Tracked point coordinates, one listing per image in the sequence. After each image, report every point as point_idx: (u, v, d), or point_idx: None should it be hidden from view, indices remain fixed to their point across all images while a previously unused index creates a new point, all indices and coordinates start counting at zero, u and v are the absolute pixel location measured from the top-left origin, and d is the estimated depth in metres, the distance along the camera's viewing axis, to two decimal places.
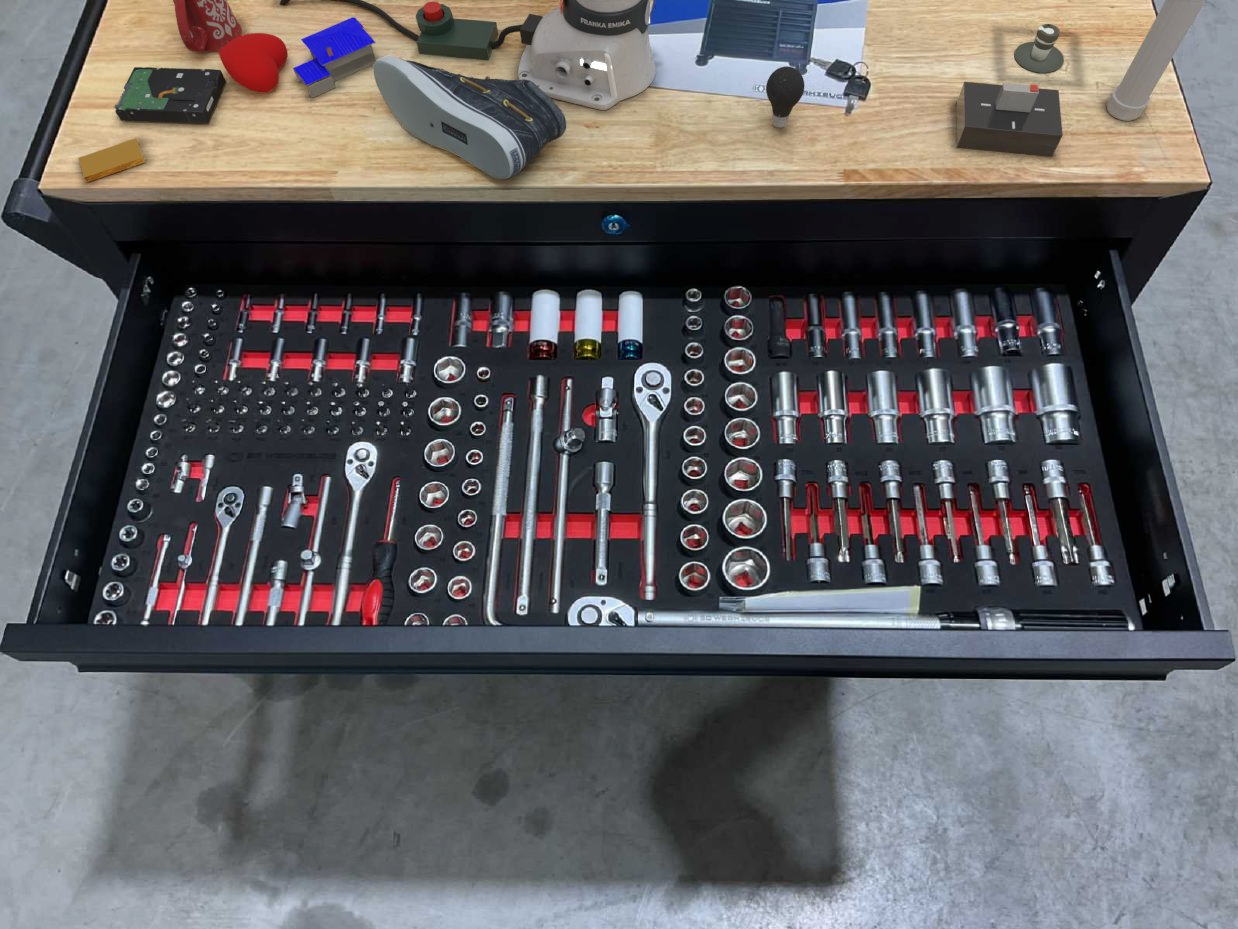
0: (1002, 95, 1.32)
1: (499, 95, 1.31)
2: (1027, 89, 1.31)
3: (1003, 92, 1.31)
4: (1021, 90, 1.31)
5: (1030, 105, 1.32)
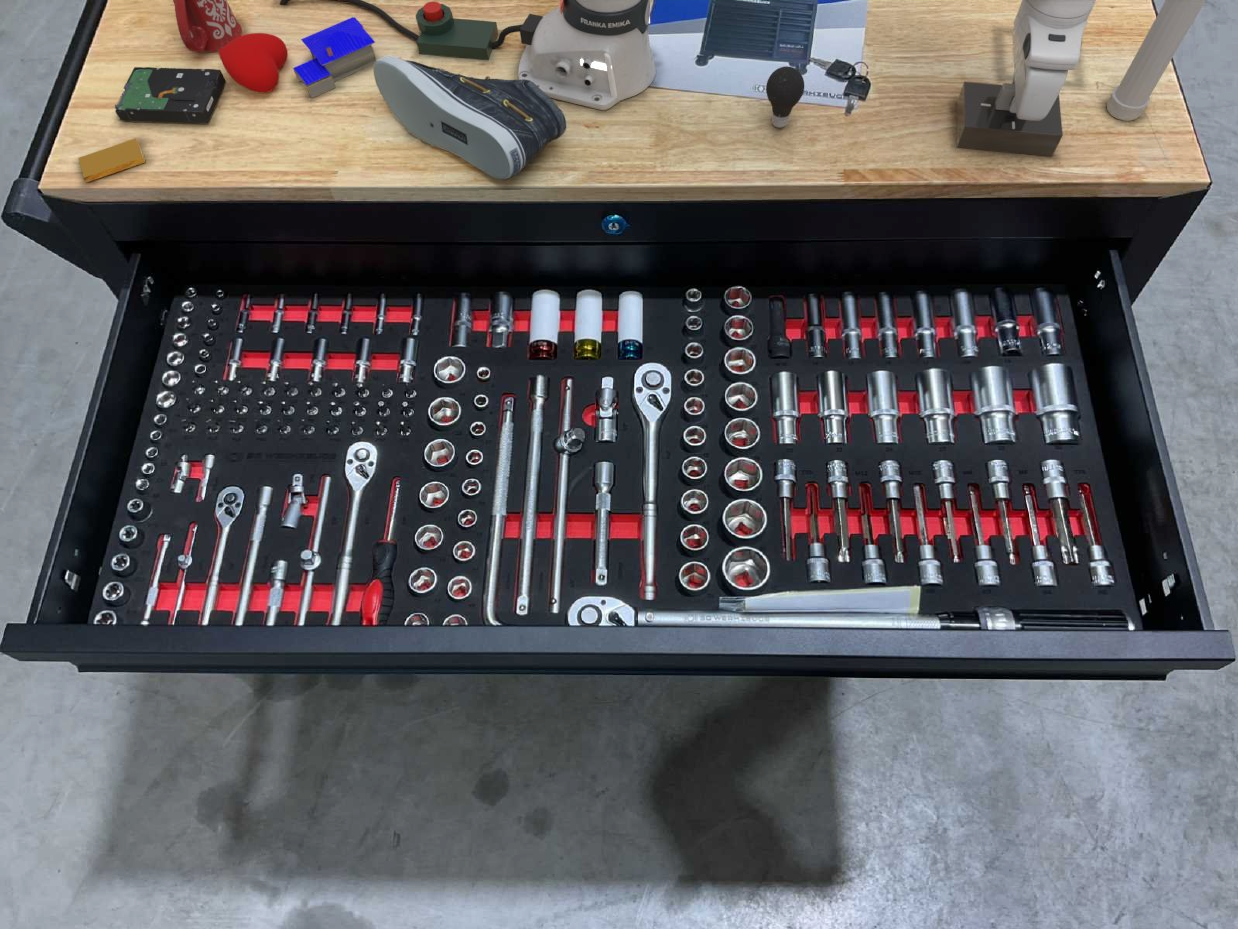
0: (1002, 95, 1.32)
1: (499, 95, 1.31)
2: None
3: (1003, 92, 1.31)
4: None
5: None
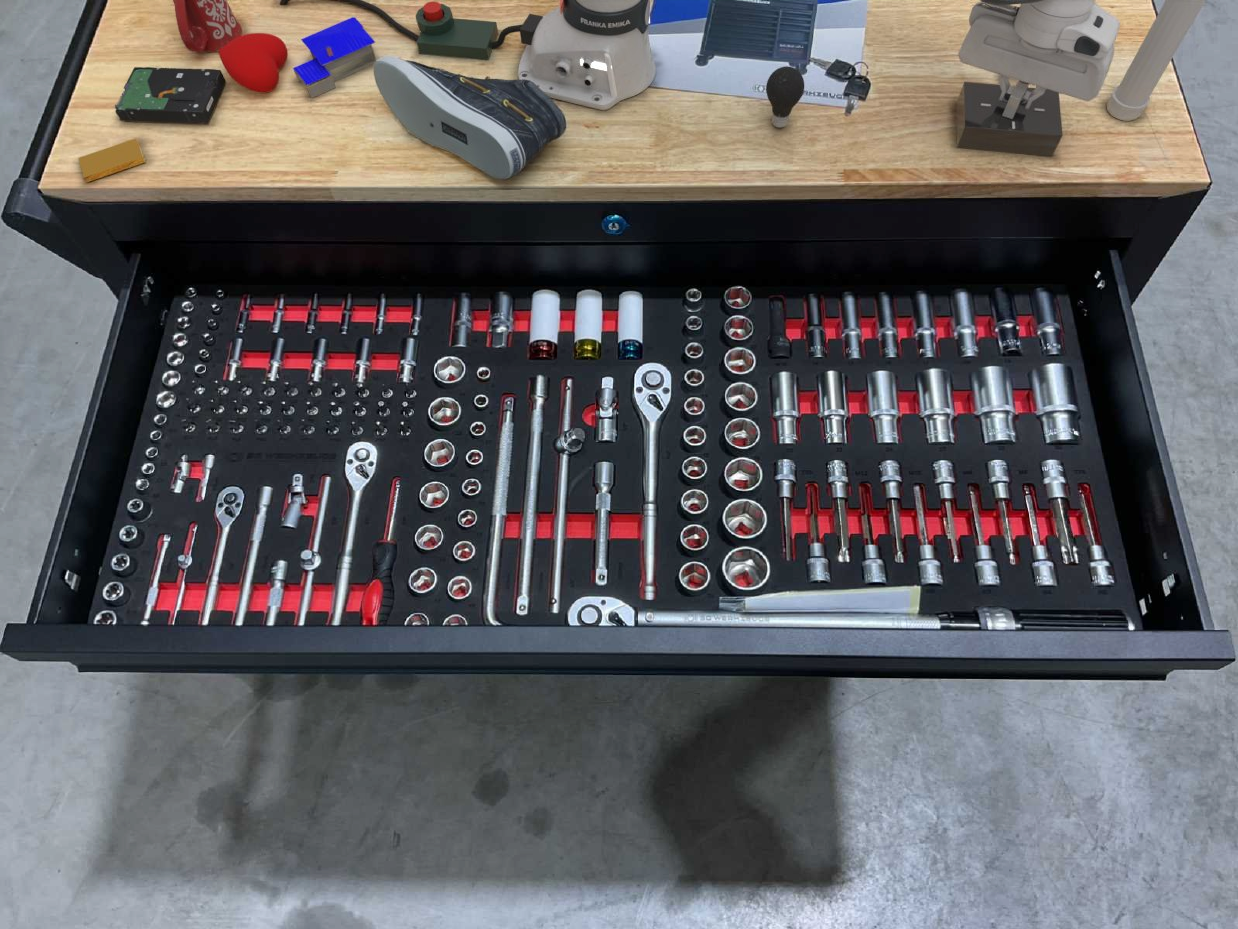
0: (1018, 104, 1.31)
1: (499, 95, 1.31)
2: (1024, 84, 1.31)
3: (1020, 101, 1.30)
4: (1024, 88, 1.31)
5: None
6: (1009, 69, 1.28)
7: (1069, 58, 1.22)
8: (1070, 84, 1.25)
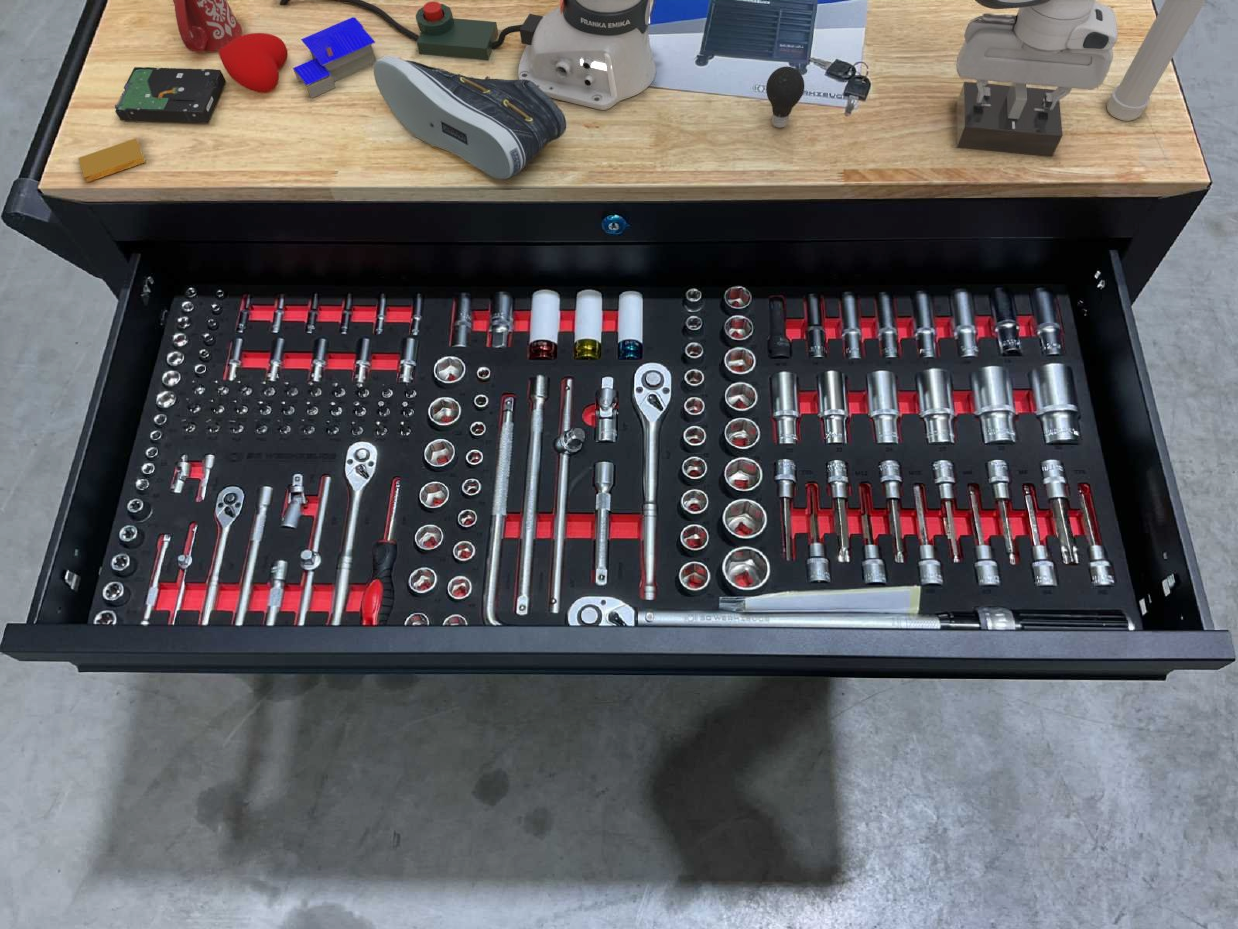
0: (1024, 104, 1.31)
1: (499, 95, 1.31)
2: None
3: None
4: (1024, 88, 1.31)
5: None
6: (1012, 75, 1.27)
7: (1073, 54, 1.23)
8: (1075, 77, 1.26)
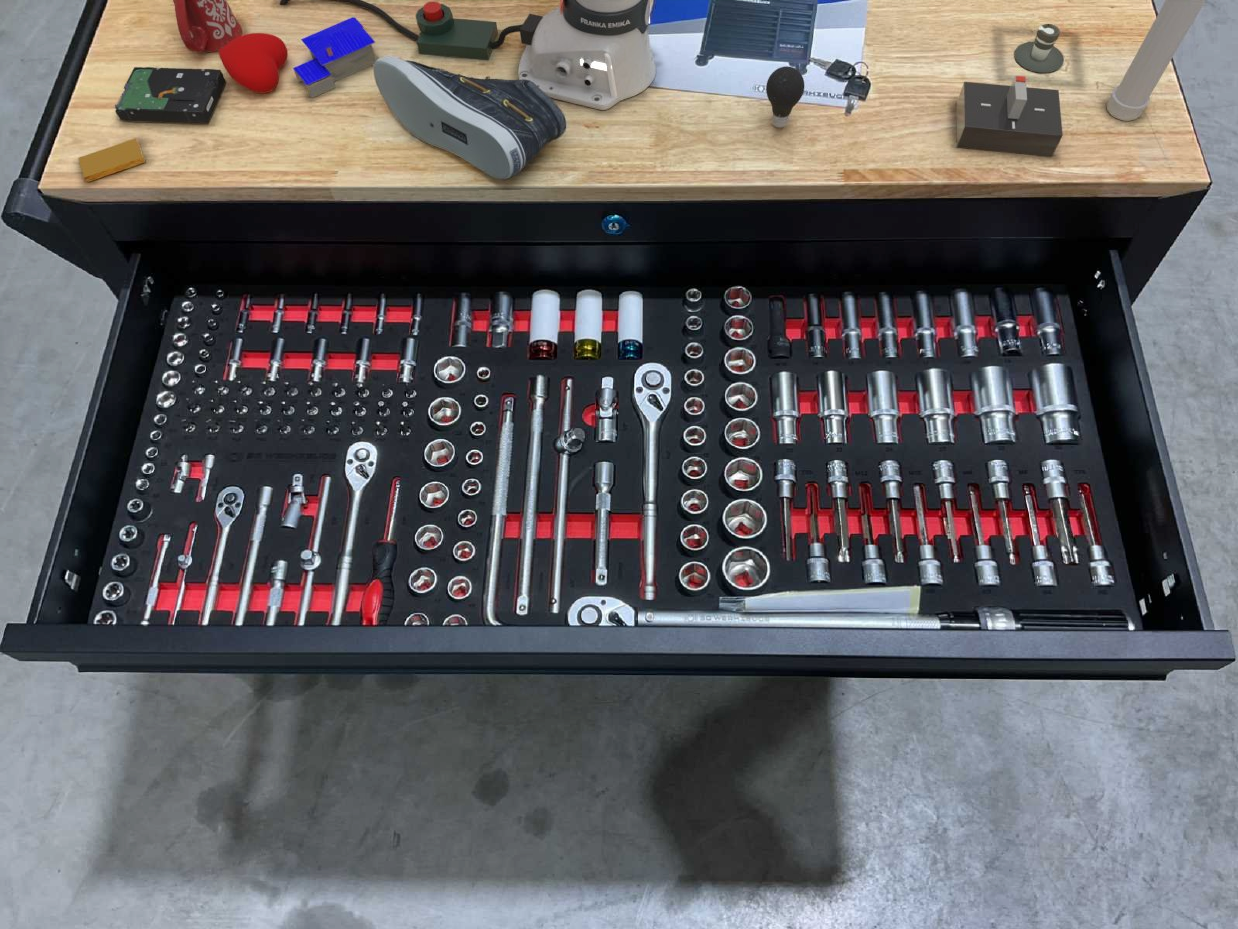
0: (1024, 104, 1.31)
1: (499, 95, 1.31)
2: (1022, 83, 1.31)
3: None
4: (1024, 88, 1.31)
5: None
6: None
7: None
8: None
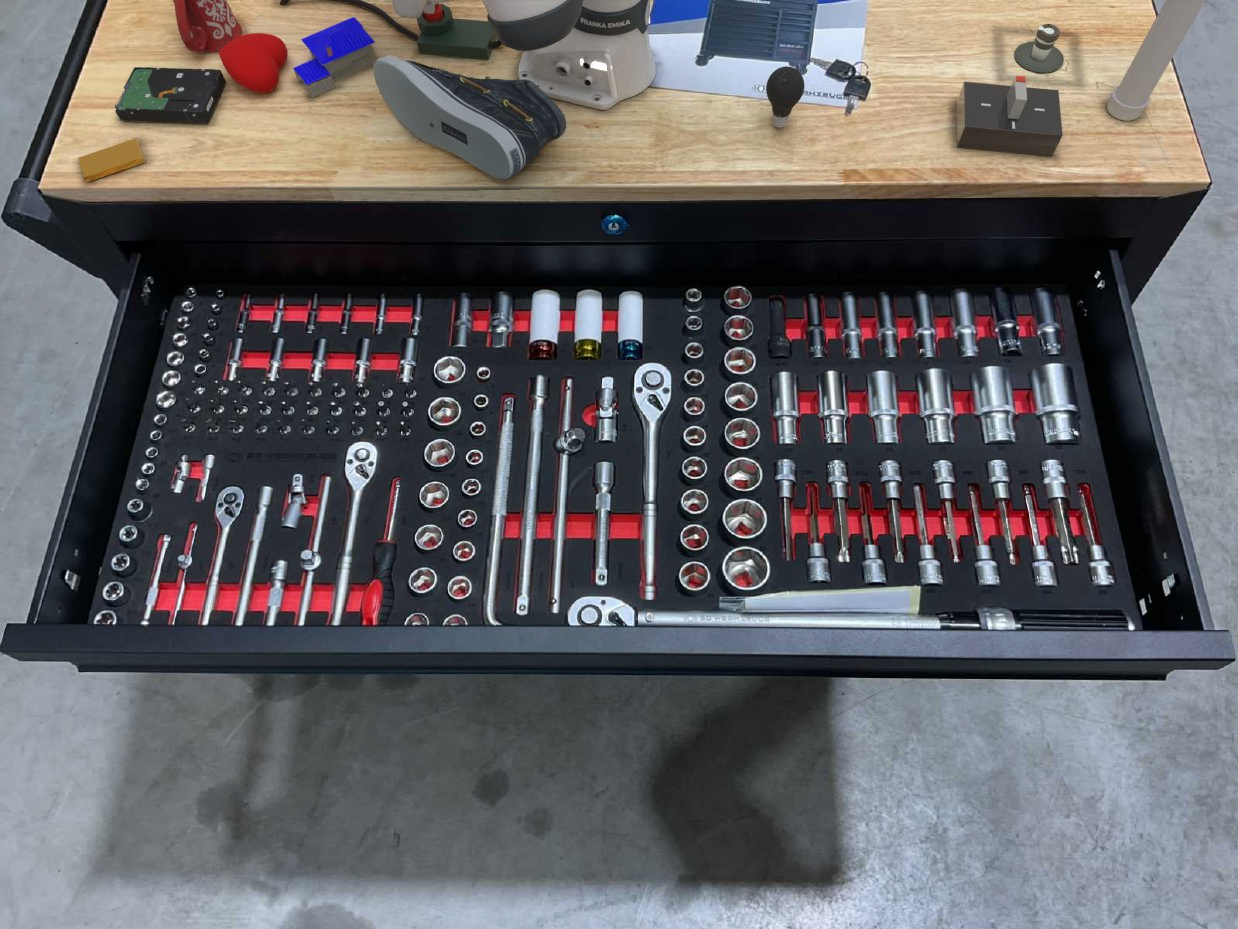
0: (1024, 104, 1.31)
1: (499, 95, 1.31)
2: (1022, 83, 1.31)
3: None
4: (1024, 88, 1.31)
5: None
6: None
7: None
8: None
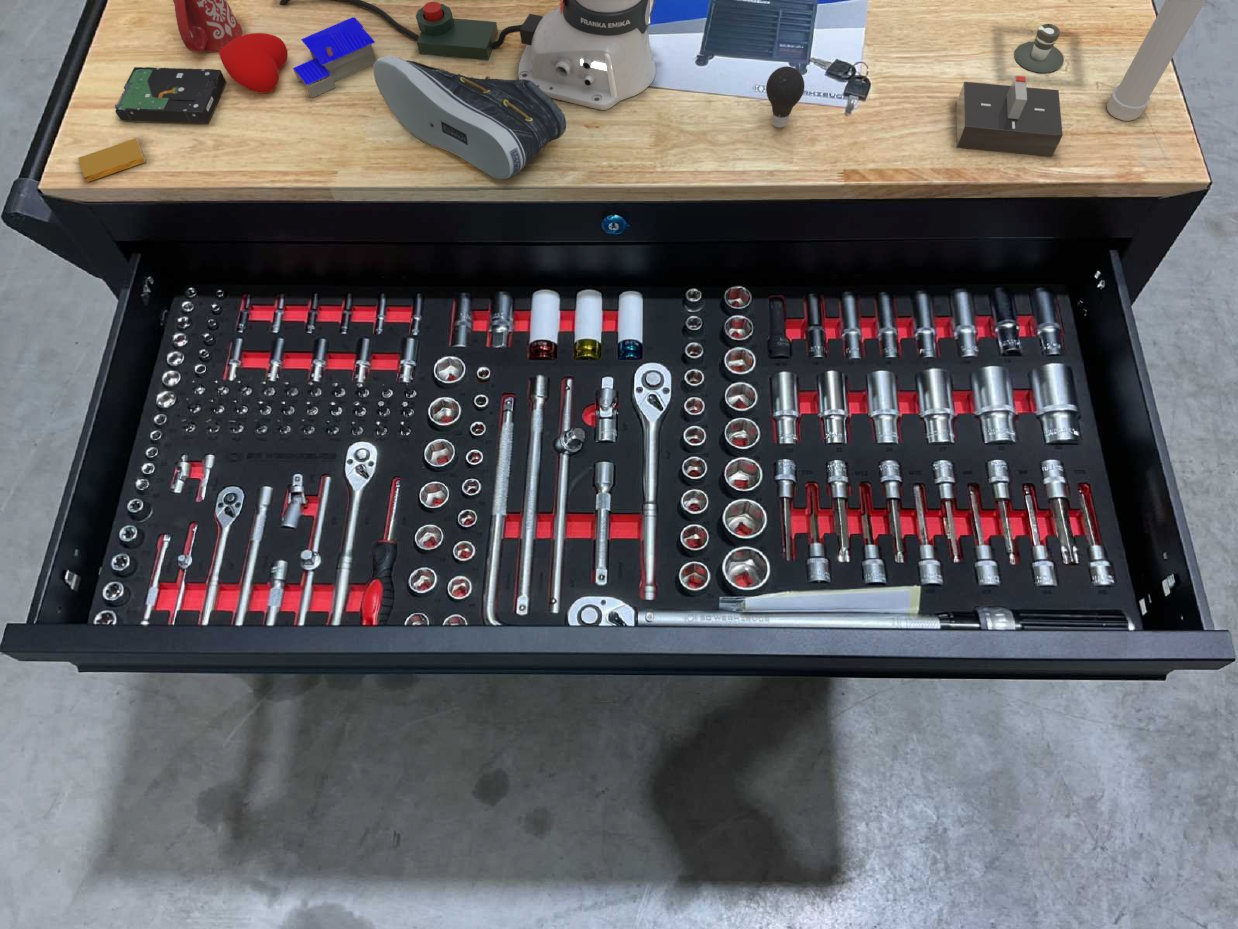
0: (1024, 104, 1.31)
1: (499, 95, 1.31)
2: (1022, 83, 1.31)
3: None
4: (1024, 88, 1.31)
5: None
6: None
7: None
8: None
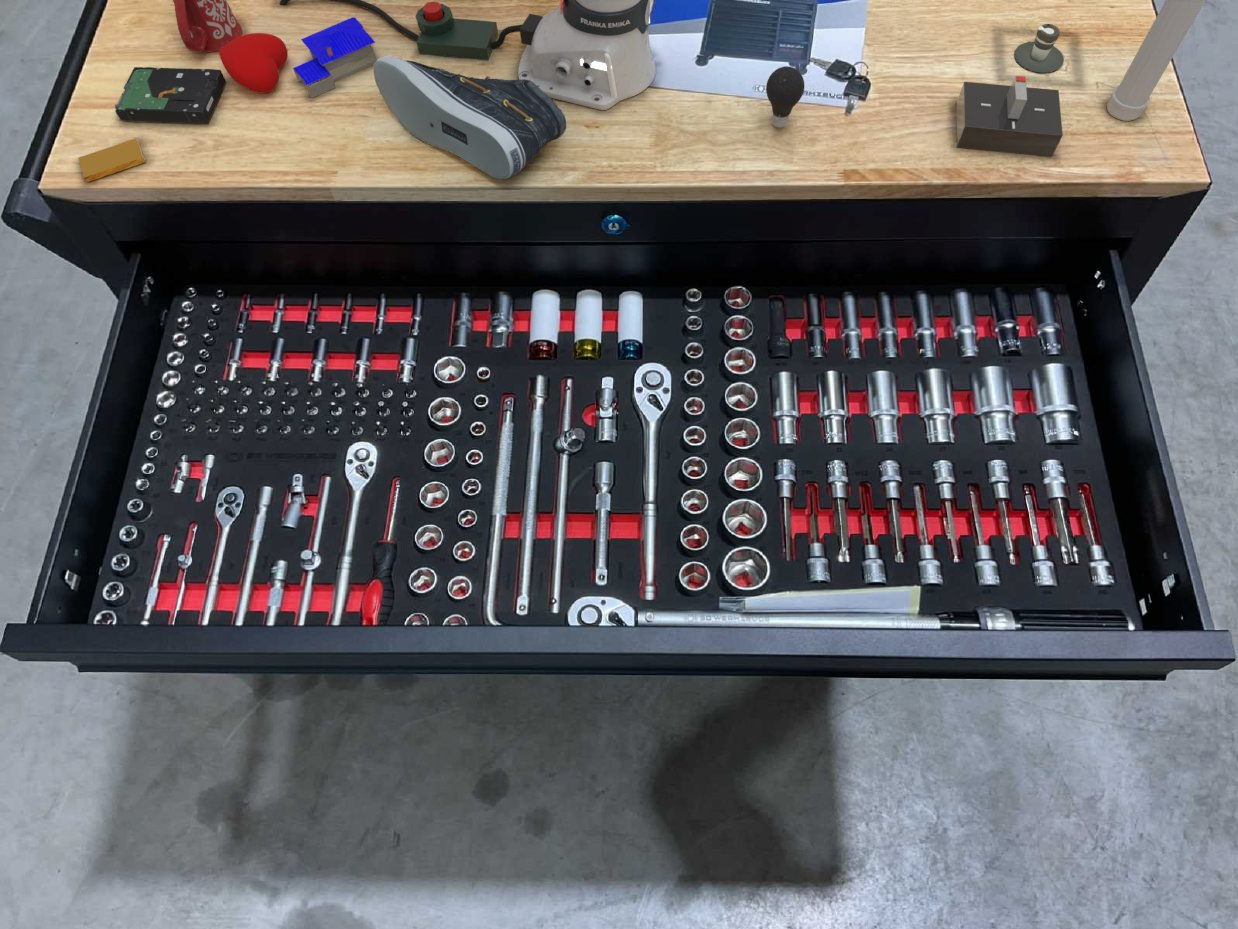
0: (1024, 104, 1.31)
1: (499, 95, 1.31)
2: (1022, 83, 1.31)
3: None
4: (1024, 88, 1.31)
5: None
6: None
7: None
8: None
